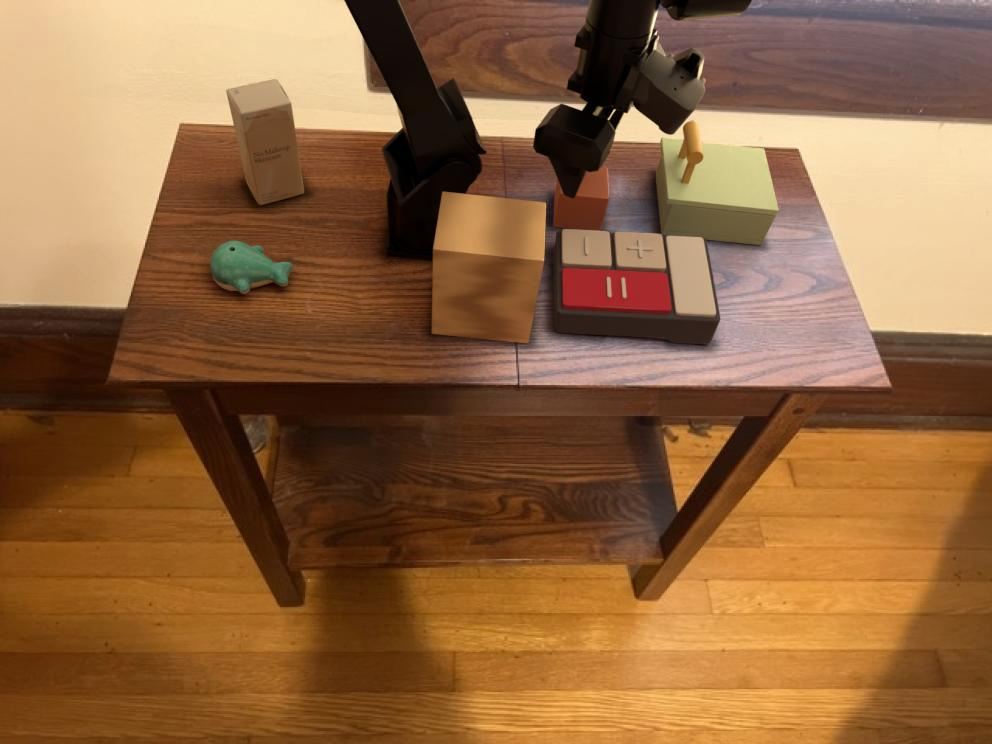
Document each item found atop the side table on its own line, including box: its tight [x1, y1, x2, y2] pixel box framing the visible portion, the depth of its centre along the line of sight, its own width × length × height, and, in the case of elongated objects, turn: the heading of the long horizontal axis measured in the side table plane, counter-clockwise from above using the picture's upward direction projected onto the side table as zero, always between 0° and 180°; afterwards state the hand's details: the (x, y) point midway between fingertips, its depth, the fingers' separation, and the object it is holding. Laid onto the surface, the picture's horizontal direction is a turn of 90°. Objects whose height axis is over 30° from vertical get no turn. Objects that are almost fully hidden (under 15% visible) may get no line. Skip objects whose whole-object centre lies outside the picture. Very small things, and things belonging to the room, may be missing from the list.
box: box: [225, 78, 305, 206], centre depth 73 cm, size 5×4×11 cm
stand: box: [431, 192, 547, 344], centre depth 65 cm, size 9×7×11 cm
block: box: [553, 166, 610, 231], centre depth 77 cm, size 5×5×4 cm
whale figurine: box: [209, 240, 294, 295], centre depth 68 cm, size 6×7×4 cm
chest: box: [655, 155, 777, 246], centre depth 79 cm, size 11×10×4 cm
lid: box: [659, 120, 780, 216], centre depth 76 cm, size 11×10×5 cm
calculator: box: [553, 228, 721, 345], centre depth 71 cm, size 11×4×15 cm
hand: (586, 169), depth 74 cm, fingers open, 9 cm apart
